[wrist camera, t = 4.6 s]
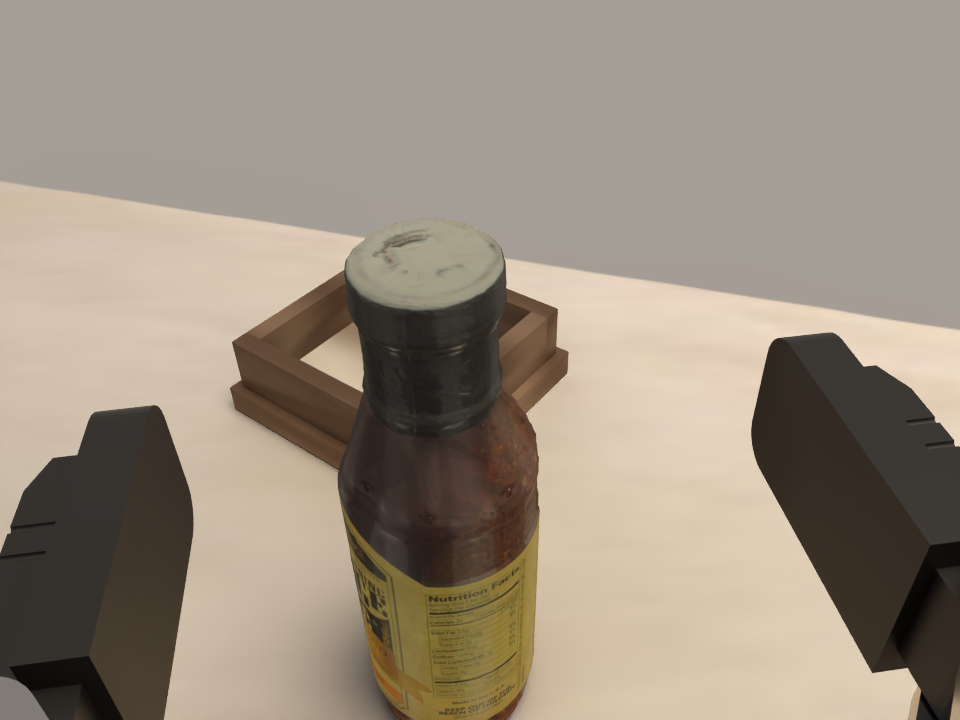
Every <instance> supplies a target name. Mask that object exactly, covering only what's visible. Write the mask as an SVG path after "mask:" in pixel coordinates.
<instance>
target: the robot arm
mask: <svg viewBox="0 0 960 720" xmlns="http://www.w3.org/2000/svg"><path fill="white" fill-rule="evenodd" d="M751 437H752V446H753V451H754V455H755V458H756V461H757V464H758V466H759V468H760V470H761V472H762V474H763V476H764V477H765V479H766V481H767V483H768V485H769V487H770V488H771V490H772V492H773V494H774V496H775V497H776V499H777V501H778V503H779V505H780V506H781V508H782V510H783V512H784V514H785V516H786V517H787V519H788V521H789V523H790V525H791V526H792V528H793V530H794V532H795V534H796V536H797V537H798V539H799V541H800V543H801V545H802V546H803V548H804V550H805V552H806V554H807V555H808V557H809V559H810V561H811V563H812V565H813V566H814V568H815V570H816V572H817V574H818V575H819V577H820V579H821V581H822V583H823V584H824V586H825V588H826V590H827V592H828V594H829V595H830V597H831V599H832V601H833V603H834V604H835V606H836V608H837V610H838V612H839V613H840V615H841V617H842V619H843V621H844V623H845V624H846V626H847V628H848V630H849V632H850V633H851V635H852V637H853V639H854V641H855V642H856V644H857V646H858V648H859V650H860V652H861V653H862V655H863V657H864V659H865V661H866V662H867V664H868V666H869V668H870V670H871V671H872V673H876V672H883V671H889V670H896V669H903V668H908V669H909V671H910V673H911V674H912V676H913V678H914V679H915V681H916V683H917V685H918V687H917V689H916V691H915V692H914V694H913V698H912V701H911V706H910V711H909V717H908V720H960V447H959V446H957V447H955V445H954V439H953V438H952V437H951V436H950V435H949V433H948V432H947V431H946V430H945V429H944V427H943V426H942V425H941V424H940V423H936V422H935V417H934V415H933V414H932V413H931V412H930V410H929V409H928V408H927V407H926V406H925V404H924V403H923V402H922V401H921V400H920V398H919V397H918V396H917V395H916V394H915V392H914V391H913V390H912V389H911V388H910V387H908V386H907V385H905V384H904V383H902V382H901V381H899V380H897V379H896V378H894V377H893V376H891V375H890V374H888V373H887V372H885V371H884V370H882V369H881V368H879V367H878V366H876V365H875V366H867V367H863V366H862V364H861V363H860V362H859V361H858V359H857V358H856V357H855V355H854V354H853V353H852V352H851V350H850V349H849V348H848V347H847V345H846V344H845V343H844V341H843V340H842V339H841V338H840V337H839V336H838V335H836V334H834V333H820V334H811V335H802V336H793V337H784V338H777V339H775V340H774V341H773V342H772V343H771V345H770V347H769V350H768V354H767V358H766V363H765V367H764V371H763V376H762V380H761V385H760V389H759V394H758V398H757V402H756V407H755V411H754V416H753V420H752V428H751ZM10 527H11V534H7V537H6V539H5V542H4V545H3V547H2V550H1V553H0V720H164V715H165V708H166V702H167V696H168V689H169V683H170V677H171V670H172V664H173V658H174V651H175V645H176V639H177V632H178V626H179V620H180V613H181V607H182V601H183V594H184V588H185V582H186V575H187V569H188V563H189V557H190V550H191V544H192V537H193V507H192V500H191V495H190V490H189V487H188V484H187V481H186V478H185V475H184V472H183V469H182V466H181V464H180V461H179V458H178V455H177V452H176V449H175V446H174V443H173V440H172V438H171V435H170V432H169V429H168V426H167V423H166V420H165V417H164V415H163V413H162V411H161V409H160V408H159V407H158V406H156V405H153V406H144V407H135V408H126V409H117V410H108V411H99V412H94V413H93V414H92V415H91V417H90V419H89V421H88V424H87V427H86V430H85V433H84V436H83V439H82V442H81V446H80V449H79V452H78V455H75V456H66V457H57V458H53V459H52V460H51V461H50V462H49V463H48V464H47V465H46V467H45V468H44V469H43V470H42V471H41V472H40V473H39V474H38V476H37V477H36V478H35V479H34V480H33V481H32V482H31V483H30V485H29V486H28V487H27V488H26V489H25V490H24V492H23V494H22V497H21V500H20V502H19V505H18V508H17V510H16V513H15V516H14V518H13V521H12V524H11V526H10Z"/></svg>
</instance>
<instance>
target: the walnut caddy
mask: <svg viewBox="0 0 960 720" xmlns="http://www.w3.org/2000/svg"><path fill="white" fill-rule="evenodd" d="M506 295H507V300H506V304H505V309H504V312H503V314H502V316H501V318H500V320H499V360H500V363H501V365H502V368H503V380H502V386H503V388H504V389H505V390H506V391H507V392H509V393H510V394H511V395H512V396H513V397H514V398H515V399H516V401H517V402H518V404H519V406H520V407H521V408H522V410H523V411H524V412H525V413H526V412H527V411H528V410H529V409H530V408H531V407H532V406H533V405H535V404H536V403H537V402H538V401H539V400H540V399H541V398H542V397H543V396H544V395H545V394H546V393H547V392H548V391H549V390H550V389H551V388H552V387H553V386H554V385H555V384H556V383H557V382H558V381H559V380H560V379H561V378H562V377H563V376H564V375H565V374H567V369H568V352H567V351H565V350H563V349H560V348H558V347H556V338H557V314H558V309H557V308H554V307H552V306H549V305H547V304H544V303H542V302H539V301H537V300H534V299H531V298H529V297H526V296H524V295H521V294H519V293H516V292H514V291H511V290H509V289H506ZM232 344H233V348H234V352H235V356H236V359H237V363H238V367H239V371H240V375H241V379H242V380H241V381H239V382H238V383H236V384H235V385H234V386H232V387H231V388H230V390H231V394H232V397H233V401H234V405H235V409H237V410H238V411H240V412H242V413H243V414H245V415H247V416H249V417H250V418H252V419H254V420H255V421H257V422H259V423H260V424H262V425H264V426H266V427H267V428H269V429H271V430H272V431H274V432H276V433H277V434H279V435H281V436H282V437H284V438H286V439H288V440H289V441H291V442H293V443H294V444H296V445H298V446H299V447H301V448H303V449H305V450H306V451H308V452H310V453H311V454H313V455H315V456H316V457H318V458H320V459H322V460H323V461H325V462H327V463H328V464H330V465H332V466H333V467H335V468H337V469H339V466H340V463H341V460H342V458H343V455H344V452H345V449H346V447H347V444H348V441H349V438H350V434H351V431H352V427H353V424H354V421H355V417H356V414H357V410H358V407H359V404H360V400H361V397H362V394H363V388H362V382H363V376H364V370H363V359H362V357H363V355H362V351H361V344H360V338H359V333H358V328H357V326H356V325H355V324H354V322H353V321H352V319H351V317H350V314H349V312H348V308H347V291H346V283H345V277H344V270H343V271H342V272H340V273H339V274H337V275H335V276H334V277H332V278H331V279H329V280H328V281H326V282H325V283H323V284H321V285H320V286H318V287H317V288H315V289H314V290H312V291H311V292H309V293H307V294H306V295H304V296H303V297H301V298H300V299H298V300H297V301H295V302H293V303H292V304H290V305H289V306H287V307H286V308H284V309H283V310H281V311H279V312H278V313H276V314H275V315H273V316H272V317H270V318H269V319H267V320H265V321H264V322H262V323H261V324H259V325H258V326H256V327H255V328H253V329H251V330H250V331H248V332H247V333H245V334H244V335H242V336H241V337H239V338H237V339H236V340H234V341H233V342H232Z"/></svg>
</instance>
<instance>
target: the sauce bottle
mask: <svg viewBox="0 0 960 720" xmlns="http://www.w3.org/2000/svg"><path fill="white" fill-rule="evenodd" d="M344 277H345V283H346V291H347V308H348V312H349V314H350V317H351V319H352V321H353V322H354V324H355V325H356V326H357V328H358V333H359V338H360V344H361V351H362V355H363V357H362V359H363V370H364V376H363V382H362V388H363V394H362V397H361V400H360V404H359V407H358V410H357V414H356V417H355V421H354V424H353V427H352V431H351V434H350V438H349V441H348V444H347V447H346V449H345V452H344V455H343V458H342V460H341V463H340V466H339V472H338V490H339V496H340V501H341V507H342V512H343V517H344V522H345V527H346V532H347V537H348V542H349V547H350V555H351V561H352V564H353V570H354V574H355V580H356V585H357V590H358V595H359V600H360V605H361V610H362V616H363V621H364V626H365V631H366V636H367V641H368V646H369V651H370V656H371V661H372V667H373V671H374V674H375V678H376V681H377V683H378V685H379V687H380V689H381V690H382V692H383V693H384V695H385V696H386V698H387V700H388V703H389V706H390V707H391V709H392V711H393V712H394V713H395V715H396V716H397V717H399V718H401V719H402V720H505V719H506V718H507V717H508V716H509V715H510V714H511V713H512V712H513V711H514V709H515V708H516V706H517V703H518V701H519V700H520V698H521V696H522V694H523V691H524V688H525V685H526V682H527V678H528V675H529V672H530V670H531V666H532V660H533V653H534V627H535V607H536V584H537V561H538V537H539V514H540V510H539V506H538V489H537V475H538V462H539V457H538V454H537V444H536V433H535V431H534V430H533V427H532V424H531V423H530V422H529V420H528V417H527V415H526V413H525V412H524V411H523V410H522V408H521V407H520V406H519V404H518V402H517V401H516V399H515V398H514V397H513V396H512V395H511V394H510V393H509V392H507V391H506V390H505V389H504V388H503V386H502V380H503V368H502V365H501V363H500V360H499V320H500V318H501V316H502V314H503V312H504V309H505V304H506V300H507V295H506V265H505V260H504V256H503V252H502V249H501V247H500V246H499V244H498V243H497V242H496V241H495V240H494V239H493V238H492V237H491V236H490V235H489V234H487V233H486V232H483V231H481V230H478V229H475V228H474V227H472V226H470V225H467V224H465V223H462V222H457V221H453V220H446V219H417V220H410V221H406V222H402V223H395V224H392V225H390V226H388V227H386V228H384V229H381V230H378V231H377V232H375V233H373V234H371V235H370V236H369V237H367V238H366V239H365V240H364V241H362V242H361V243H360V244H359V245H357V246H356V247H355V248H353V250H352V252H351V253H350V255H349V256H348V258H347V259H346V262H345V270H344Z"/></svg>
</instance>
